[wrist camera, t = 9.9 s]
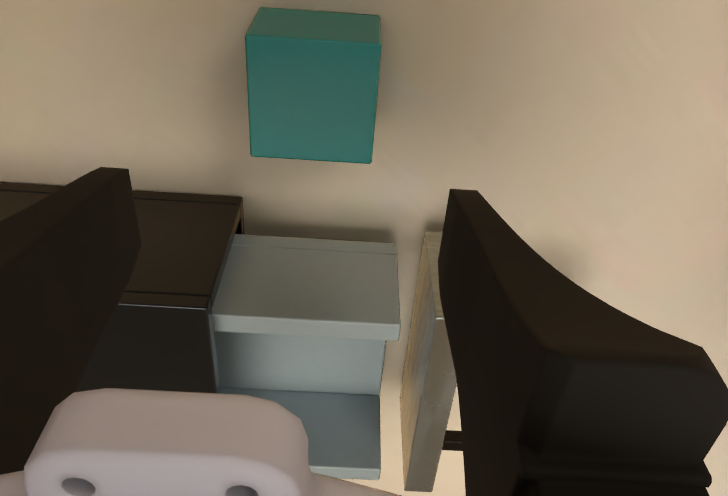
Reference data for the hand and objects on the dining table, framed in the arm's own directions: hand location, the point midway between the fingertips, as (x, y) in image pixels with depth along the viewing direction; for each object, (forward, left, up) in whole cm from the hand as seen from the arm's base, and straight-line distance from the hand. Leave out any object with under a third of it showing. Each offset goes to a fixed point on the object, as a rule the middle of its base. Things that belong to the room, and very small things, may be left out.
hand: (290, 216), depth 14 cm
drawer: (+10, +4, -9) cm, 14 cm away
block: (0, 0, -9) cm, 9 cm away
